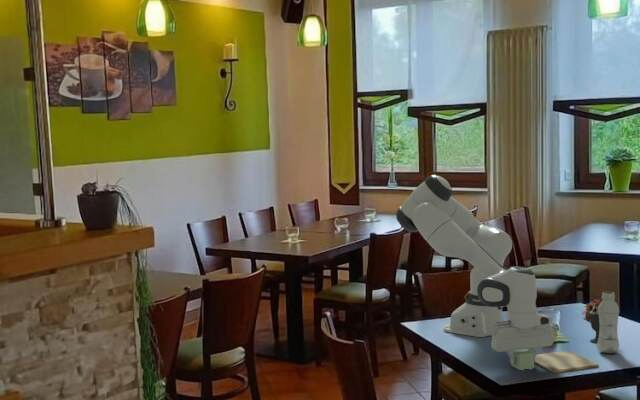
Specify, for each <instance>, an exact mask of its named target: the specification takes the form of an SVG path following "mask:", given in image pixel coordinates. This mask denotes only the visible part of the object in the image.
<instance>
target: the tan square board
mask: <svg viewBox="0 0 640 400" xmlns="http://www.w3.org/2000/svg"><path fill="white" fill-rule="evenodd" d="M537 364H538V365H537ZM534 365H537V366H539V367H540V366H541V368H542V367H543V368H542V369H544V368H545V370H546V369H547V371H548V372H550V373H551V374H558V373H565V372H571V371H572V372H573V371H579V370H586V369H594V368H599V366H600V364H599V363H598V362H597V363H596V362H594V361H592V360H590V359H588V358H586V357H584V356H581V355H579V354H577V353H575V352H572V351H571V350H569V349H568V350H561V351H555V352H546V353H541V354H540V353H539V354H538V353H537V354H536V356H535V361H534Z"/></svg>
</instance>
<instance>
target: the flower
mask: <svg viewBox="0 0 640 400" xmlns="http://www.w3.org/2000/svg"><path fill="white" fill-rule="evenodd" d="M602 299H603V298H600V299H596V298H595V299H594V300H593V301H590V302H589V303H586V305H585V306H583V307H584V308H585V310H583V311H582V312H581V314H582V315H584V317H585V318H586V319H590V315H589V314H588V312H589V311H590V305H591V306H594V305H598V303H600V302H602Z"/></svg>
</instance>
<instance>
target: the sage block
mask: <svg viewBox="0 0 640 400" xmlns="http://www.w3.org/2000/svg"><path fill="white" fill-rule="evenodd" d="M512 355H513V357H515V358H517V364H511V363H510V365H511V367H512V366H513V367H512V368H514V367H515V368H514V369H516V368H517V369H516V370H518V369H519V370H522V371H525V370H524V369H529V370H534V369H535V363H534V353H533V352H532V350H529V349H521V350H514V354H512ZM533 368H534V369H533ZM519 370H518V371H519Z"/></svg>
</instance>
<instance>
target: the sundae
mask: <svg viewBox="0 0 640 400" xmlns="http://www.w3.org/2000/svg"><path fill="white" fill-rule="evenodd" d="M601 299H602V300H603V298H601ZM600 303H601V302H600ZM600 303H598V305H594V306H591V305H590V311H589V312H588V314H589V315H590V318H589V319H590V326H591V328H592V331H594V332H595V337H594V338H592V339H590V341H589V342H590V343H594V344H597V343H598V338H599V330H600V324H599V314H598V306H599V304H600Z"/></svg>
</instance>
